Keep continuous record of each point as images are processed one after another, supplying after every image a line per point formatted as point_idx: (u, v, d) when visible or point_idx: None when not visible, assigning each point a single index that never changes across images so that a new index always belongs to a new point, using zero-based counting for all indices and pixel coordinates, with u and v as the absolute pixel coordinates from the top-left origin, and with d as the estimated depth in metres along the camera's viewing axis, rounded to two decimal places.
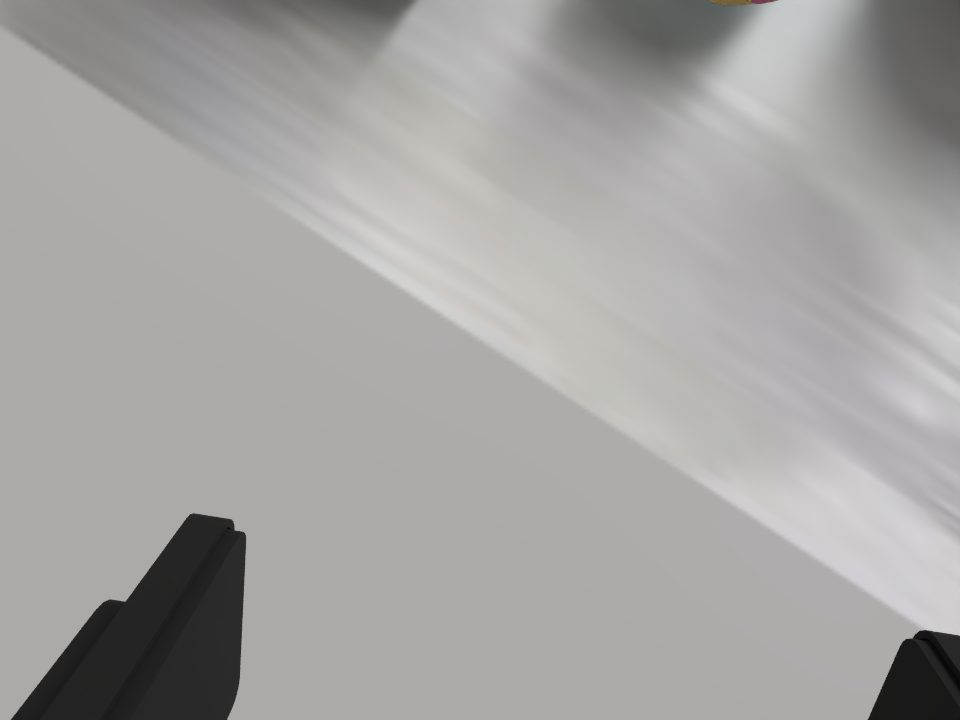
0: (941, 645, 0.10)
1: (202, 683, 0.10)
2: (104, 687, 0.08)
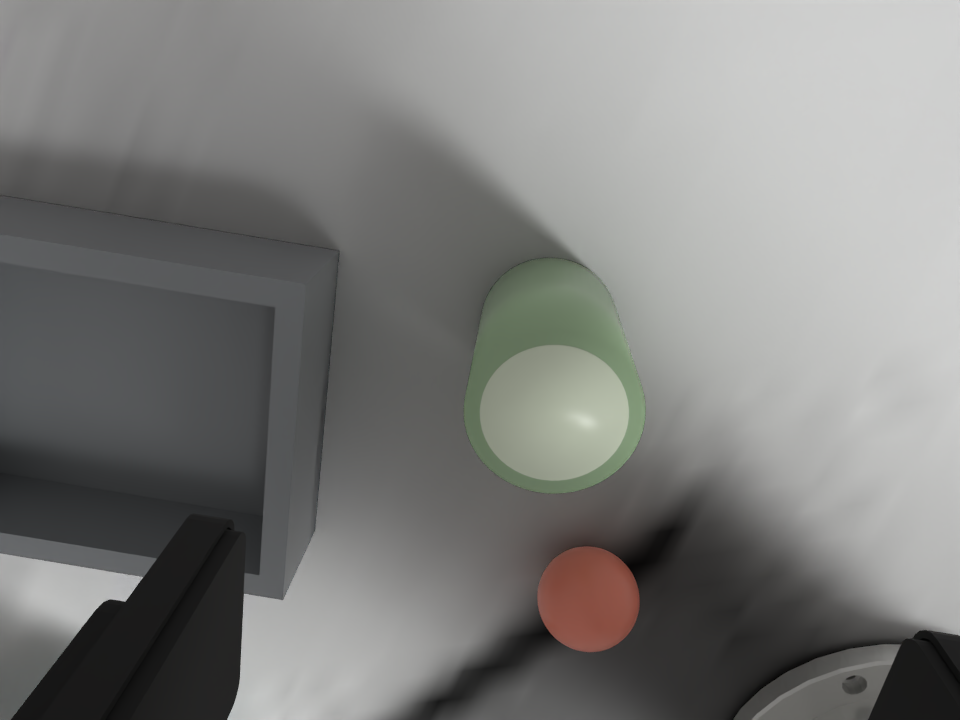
0: (941, 645, 0.10)
1: (202, 683, 0.10)
2: (104, 687, 0.08)
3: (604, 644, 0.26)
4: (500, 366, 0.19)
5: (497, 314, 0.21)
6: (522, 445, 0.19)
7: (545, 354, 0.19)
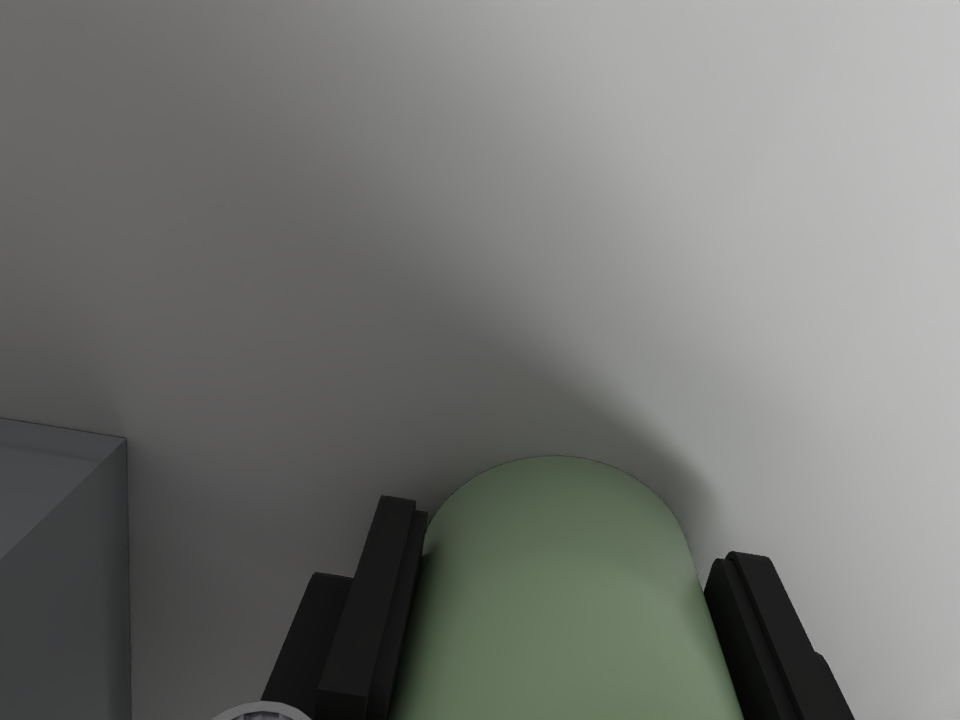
0: (741, 562, 0.11)
1: None
2: (367, 641, 0.09)
3: None
4: None
5: (429, 684, 0.08)
6: None
7: None
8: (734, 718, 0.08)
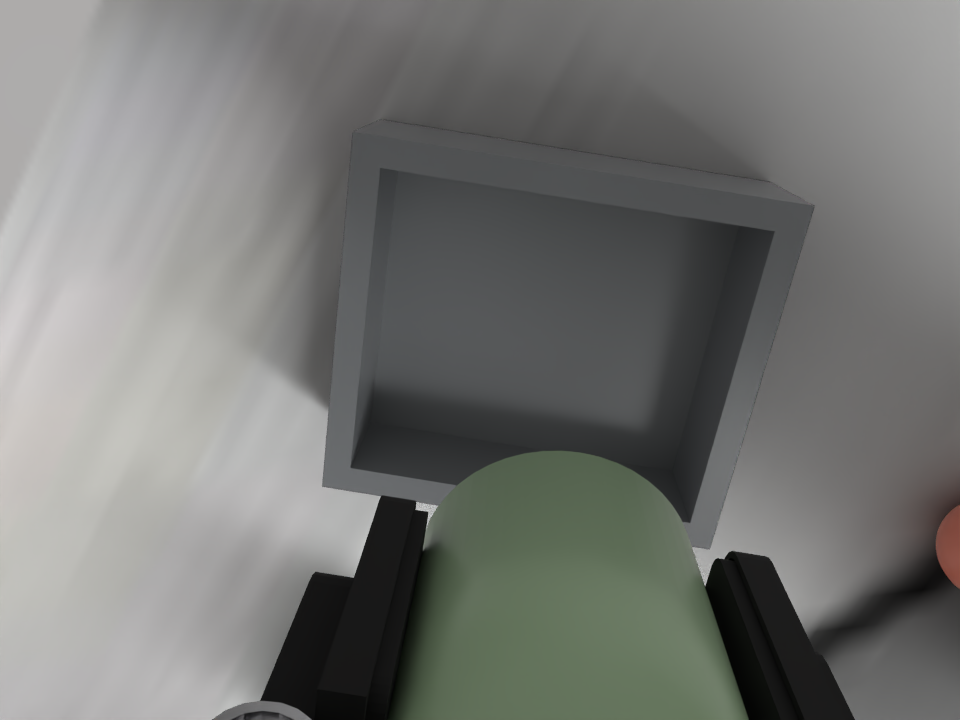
0: (741, 562, 0.11)
1: None
2: (367, 641, 0.09)
3: None
4: None
5: (430, 679, 0.08)
6: None
7: None
8: (737, 712, 0.08)
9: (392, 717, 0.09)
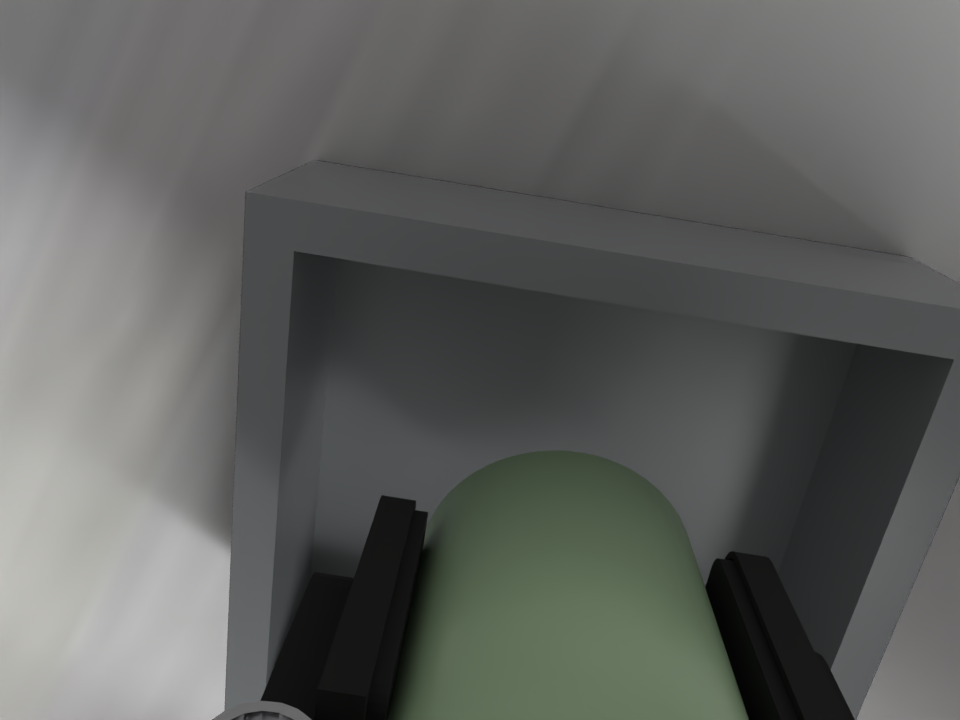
0: (741, 562, 0.11)
1: None
2: (367, 641, 0.09)
3: None
4: None
5: (430, 678, 0.08)
6: None
7: None
8: (737, 712, 0.08)
9: (392, 717, 0.09)
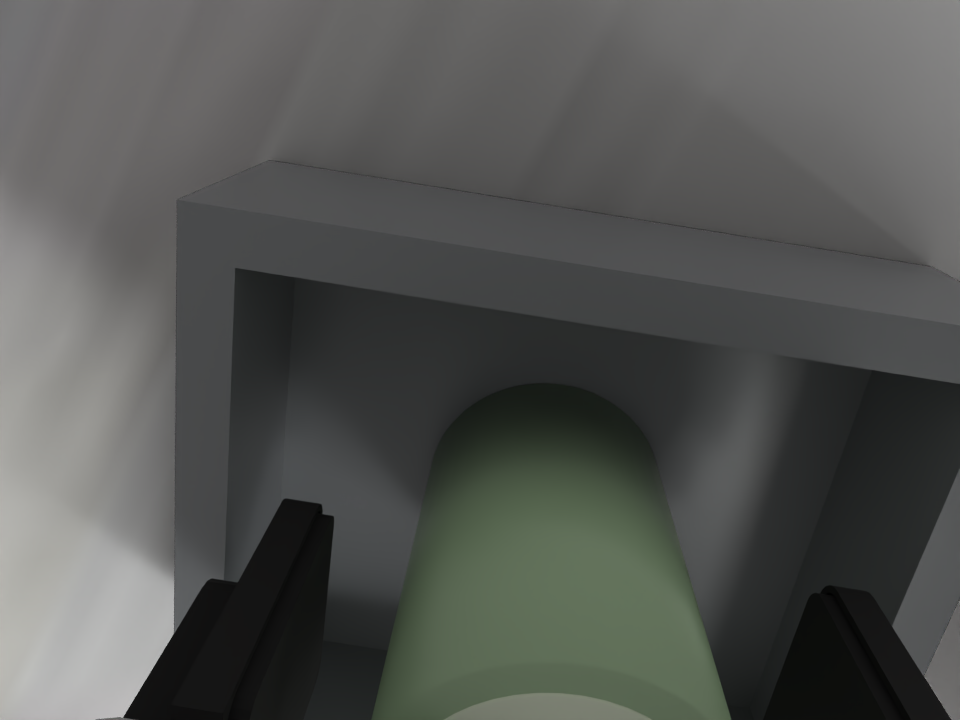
0: (842, 598, 0.11)
1: (301, 656, 0.10)
2: (236, 653, 0.08)
3: None
4: None
5: (442, 540, 0.11)
6: None
7: (534, 712, 0.08)
8: (678, 567, 0.11)
9: (411, 572, 0.11)
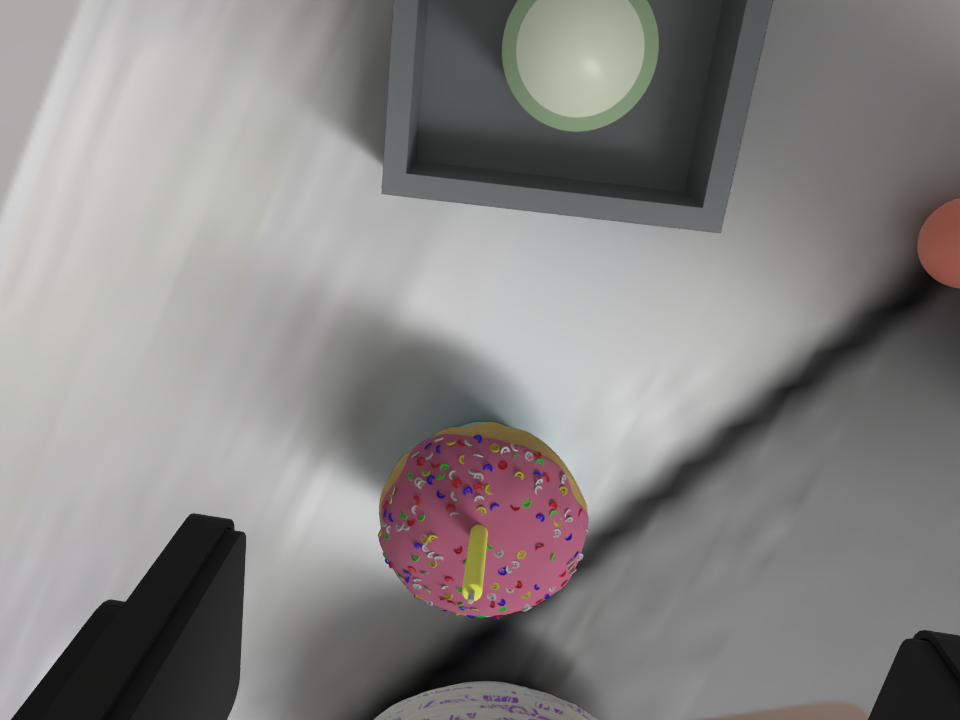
0: (941, 645, 0.10)
1: (202, 683, 0.10)
2: (104, 687, 0.08)
3: None
4: (532, 5, 0.22)
5: None
6: (553, 82, 0.23)
7: None
8: None
9: None
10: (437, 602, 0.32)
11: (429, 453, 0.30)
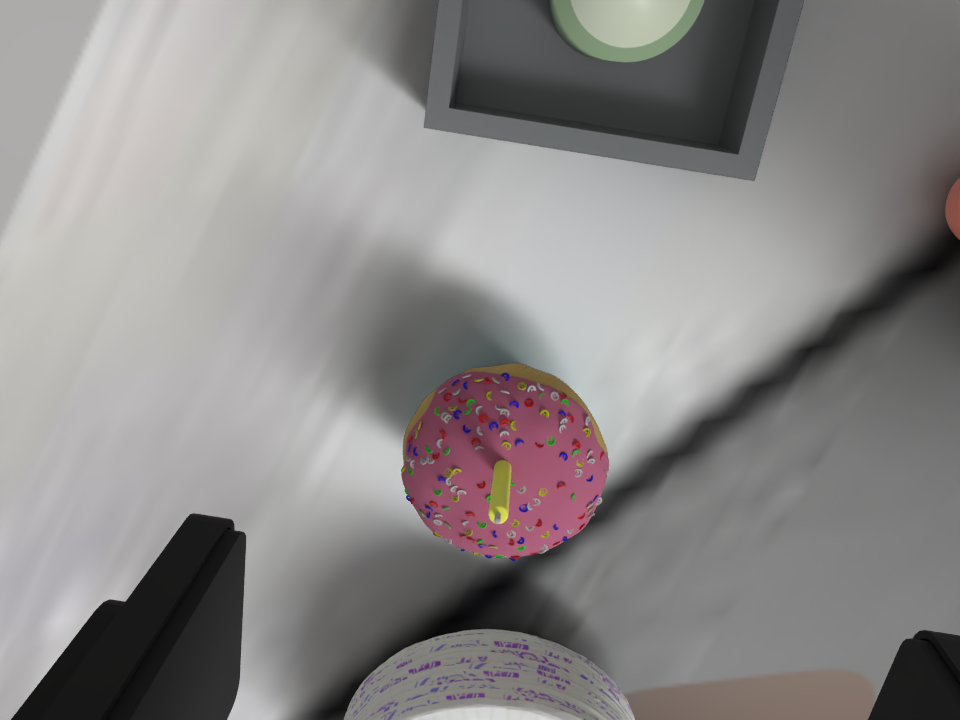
0: (941, 645, 0.10)
1: (202, 683, 0.10)
2: (104, 687, 0.08)
3: None
4: None
5: None
6: (603, 12, 0.23)
7: None
8: None
9: None
10: (456, 539, 0.32)
11: (456, 389, 0.31)
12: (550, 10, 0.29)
